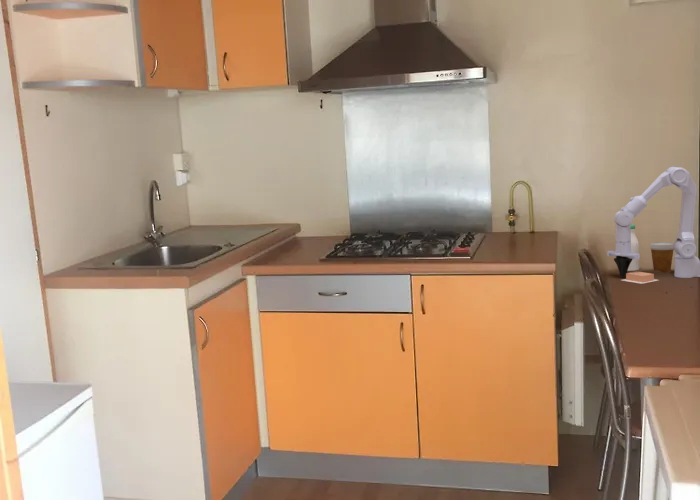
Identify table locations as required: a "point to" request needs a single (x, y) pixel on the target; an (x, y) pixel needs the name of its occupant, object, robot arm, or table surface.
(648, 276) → the terracotta tile
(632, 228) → the milk bottle
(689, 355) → the table surface
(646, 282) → the white riser
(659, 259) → the disposable coffee cup
